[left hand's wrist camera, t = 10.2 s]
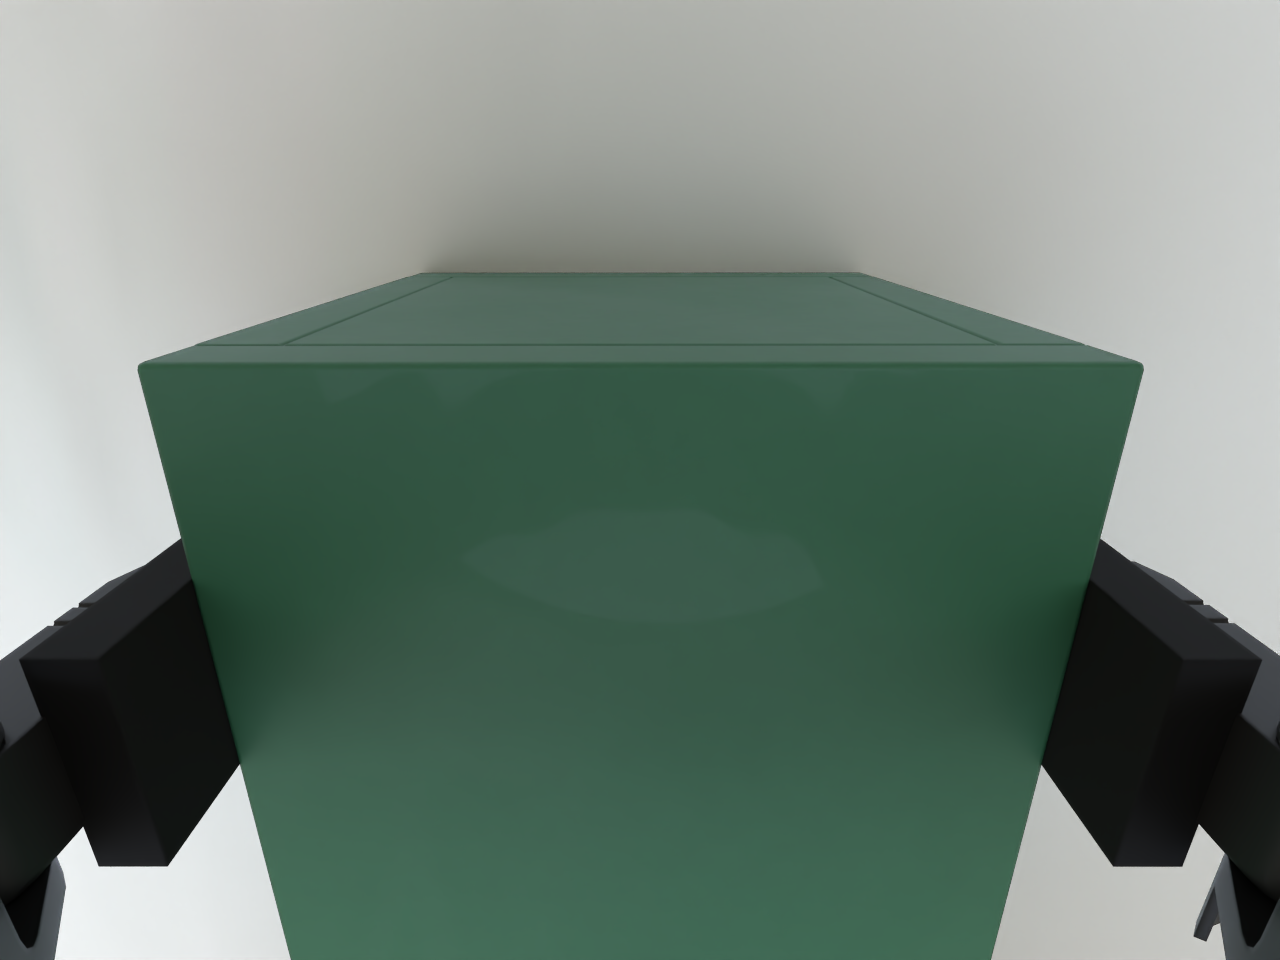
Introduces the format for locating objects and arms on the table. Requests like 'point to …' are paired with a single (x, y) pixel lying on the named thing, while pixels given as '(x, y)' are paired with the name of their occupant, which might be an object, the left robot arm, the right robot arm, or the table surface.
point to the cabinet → (640, 607)
